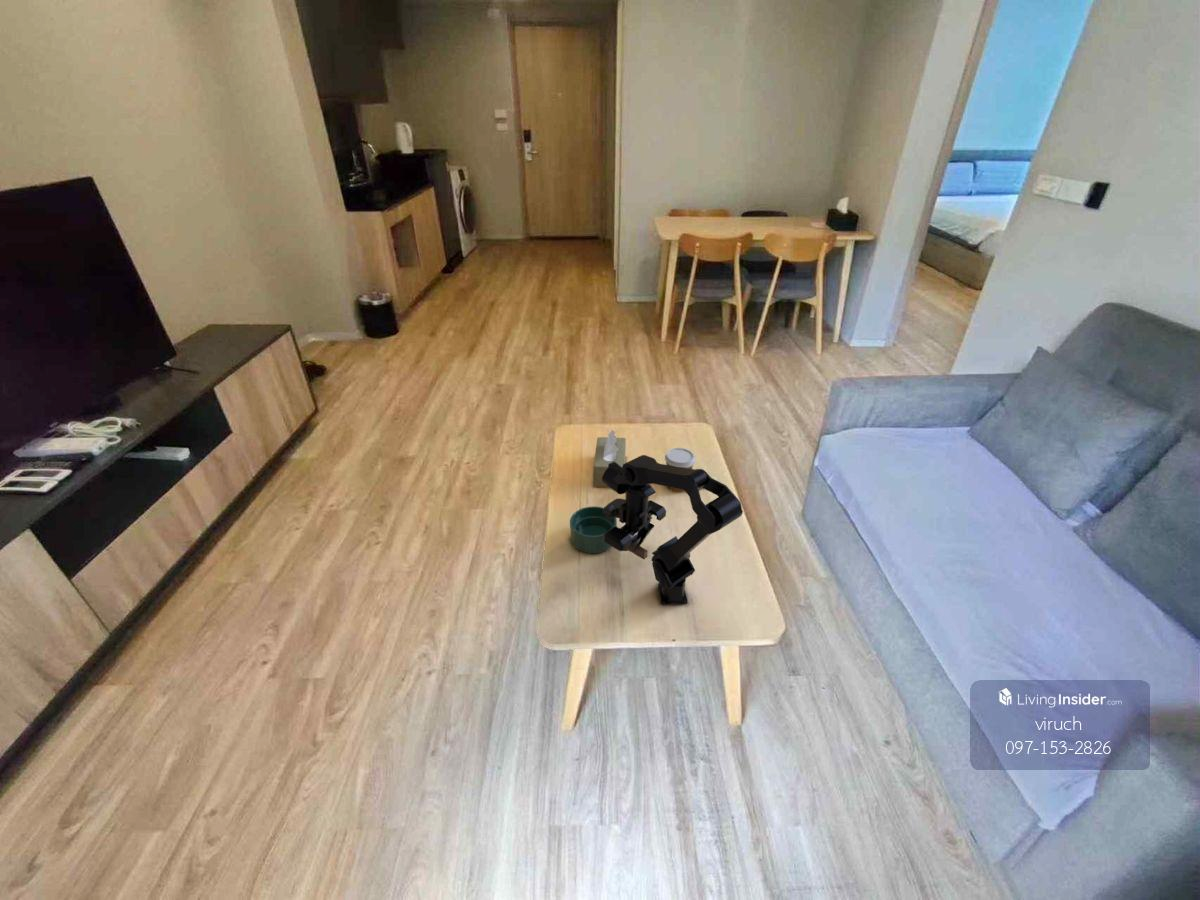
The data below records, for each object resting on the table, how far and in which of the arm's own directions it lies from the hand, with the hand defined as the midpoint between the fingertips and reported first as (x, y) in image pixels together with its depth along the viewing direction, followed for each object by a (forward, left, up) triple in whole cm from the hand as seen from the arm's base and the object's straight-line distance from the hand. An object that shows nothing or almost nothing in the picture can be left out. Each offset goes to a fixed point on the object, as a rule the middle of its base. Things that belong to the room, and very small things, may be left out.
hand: (634, 548), depth 141 cm
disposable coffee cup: (+34, -18, +1) cm, 38 cm away
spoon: (0, 0, -1) cm, 1 cm away
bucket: (+10, +10, -5) cm, 16 cm away
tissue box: (+43, +3, -6) cm, 44 cm away
